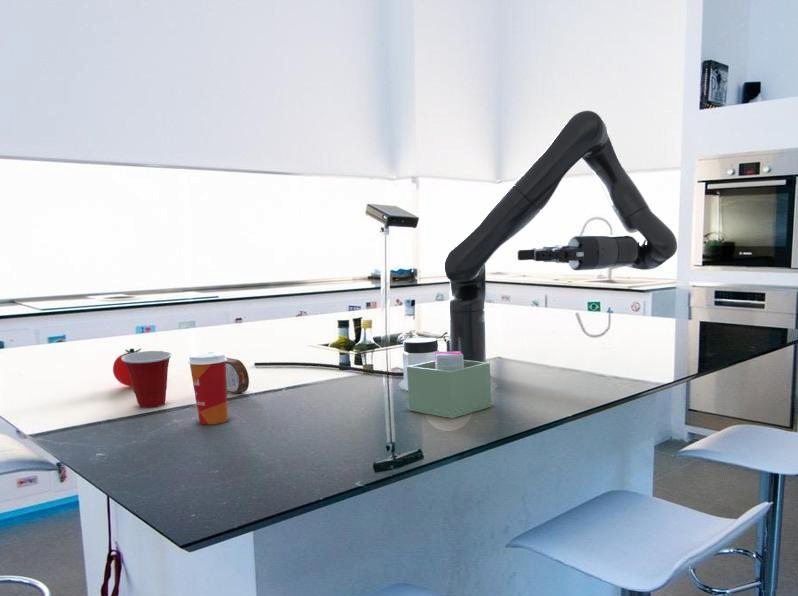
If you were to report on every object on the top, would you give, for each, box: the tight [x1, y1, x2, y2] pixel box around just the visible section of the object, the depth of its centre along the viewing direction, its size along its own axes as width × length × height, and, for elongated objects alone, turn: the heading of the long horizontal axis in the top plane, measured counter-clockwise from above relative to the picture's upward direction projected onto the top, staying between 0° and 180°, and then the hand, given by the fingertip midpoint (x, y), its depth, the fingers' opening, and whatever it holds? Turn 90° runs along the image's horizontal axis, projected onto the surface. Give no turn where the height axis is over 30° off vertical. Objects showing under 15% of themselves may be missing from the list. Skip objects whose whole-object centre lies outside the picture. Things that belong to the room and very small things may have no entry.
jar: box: [402, 337, 440, 392], centre depth 180 cm, size 9×8×12 cm
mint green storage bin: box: [407, 360, 492, 419], centre depth 160 cm, size 12×12×10 cm
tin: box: [225, 356, 250, 395], centre depth 187 cm, size 15×3×8 cm, turn 47°
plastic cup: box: [121, 350, 172, 408], centre depth 174 cm, size 11×11×12 cm
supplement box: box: [435, 351, 464, 371], centre depth 160 cm, size 6×6×12 cm
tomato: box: [112, 347, 143, 387], centre depth 199 cm, size 10×10×10 cm
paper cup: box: [187, 351, 229, 425], centre depth 156 cm, size 8×8×14 cm
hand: (526, 255), depth 163 cm, fingers open, 8 cm apart
